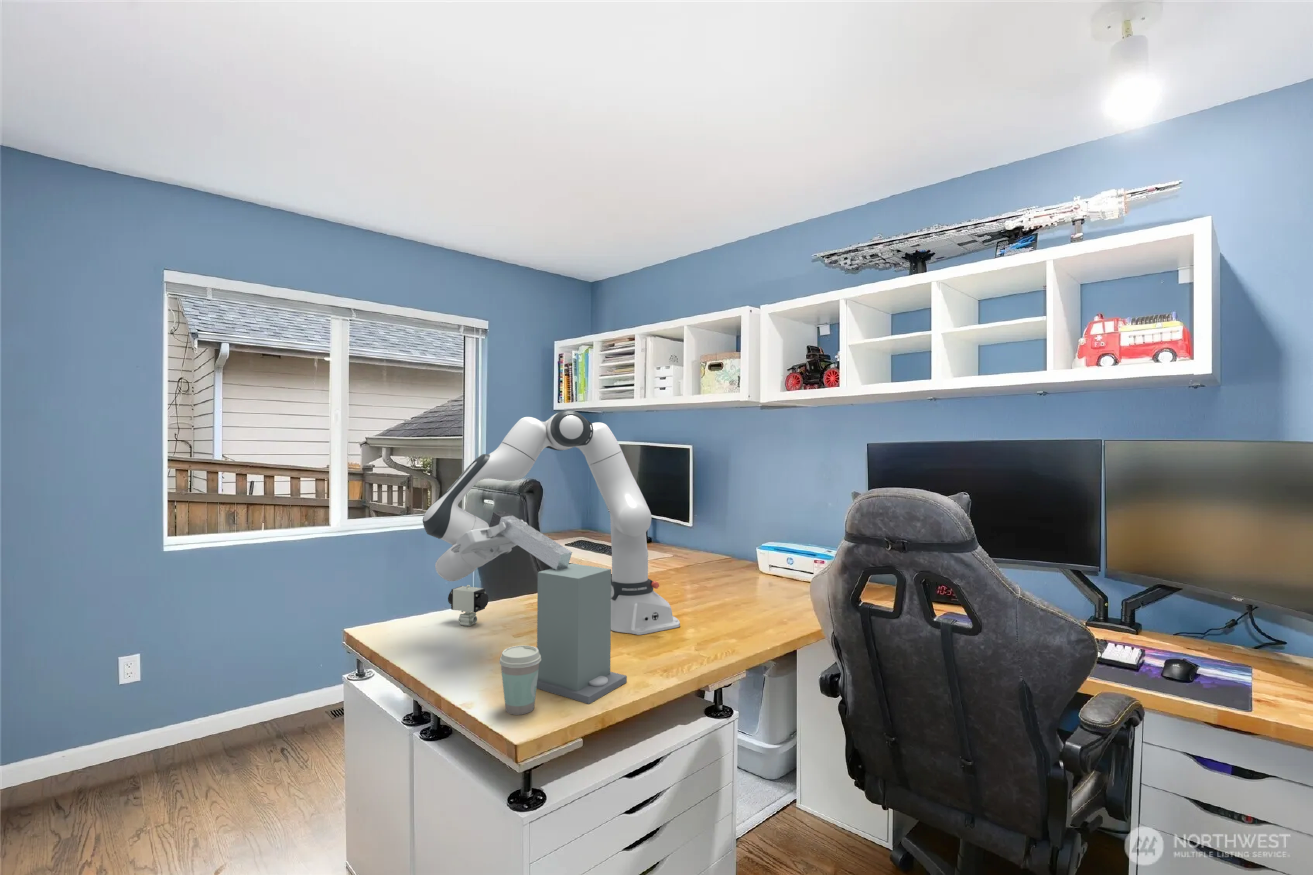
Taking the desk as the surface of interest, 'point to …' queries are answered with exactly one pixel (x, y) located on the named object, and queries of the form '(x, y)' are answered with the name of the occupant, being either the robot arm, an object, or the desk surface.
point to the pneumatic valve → (468, 602)
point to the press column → (575, 633)
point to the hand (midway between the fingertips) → (513, 523)
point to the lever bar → (532, 541)
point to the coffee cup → (520, 678)
